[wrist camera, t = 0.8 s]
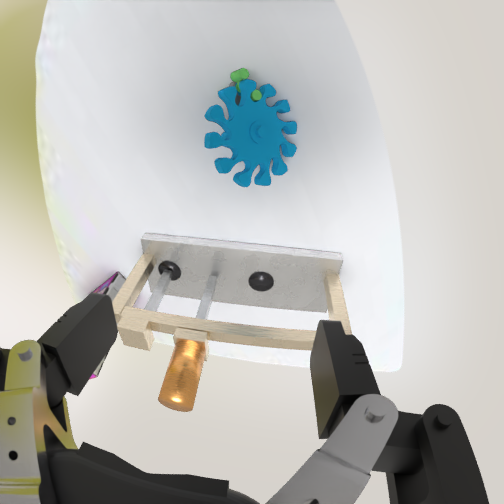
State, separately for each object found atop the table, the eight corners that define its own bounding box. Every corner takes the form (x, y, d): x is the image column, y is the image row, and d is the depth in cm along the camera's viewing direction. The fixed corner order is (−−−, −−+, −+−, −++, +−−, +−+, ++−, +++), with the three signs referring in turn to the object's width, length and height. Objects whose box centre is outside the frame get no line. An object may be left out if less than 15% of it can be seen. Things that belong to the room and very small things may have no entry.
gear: (307, 175, 27) (224, 202, 22) (268, 172, 31) (191, 196, 26) (292, 69, 22) (200, 66, 17) (254, 80, 27) (170, 86, 22)
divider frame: (145, 233, 34) (93, 307, 23) (341, 253, 34) (364, 341, 22) (154, 285, 40) (118, 360, 28) (325, 305, 39) (335, 389, 27)
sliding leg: (201, 262, 34) (154, 392, 19) (225, 264, 34) (190, 399, 19) (202, 282, 36) (162, 407, 21) (225, 284, 35) (194, 414, 21)
